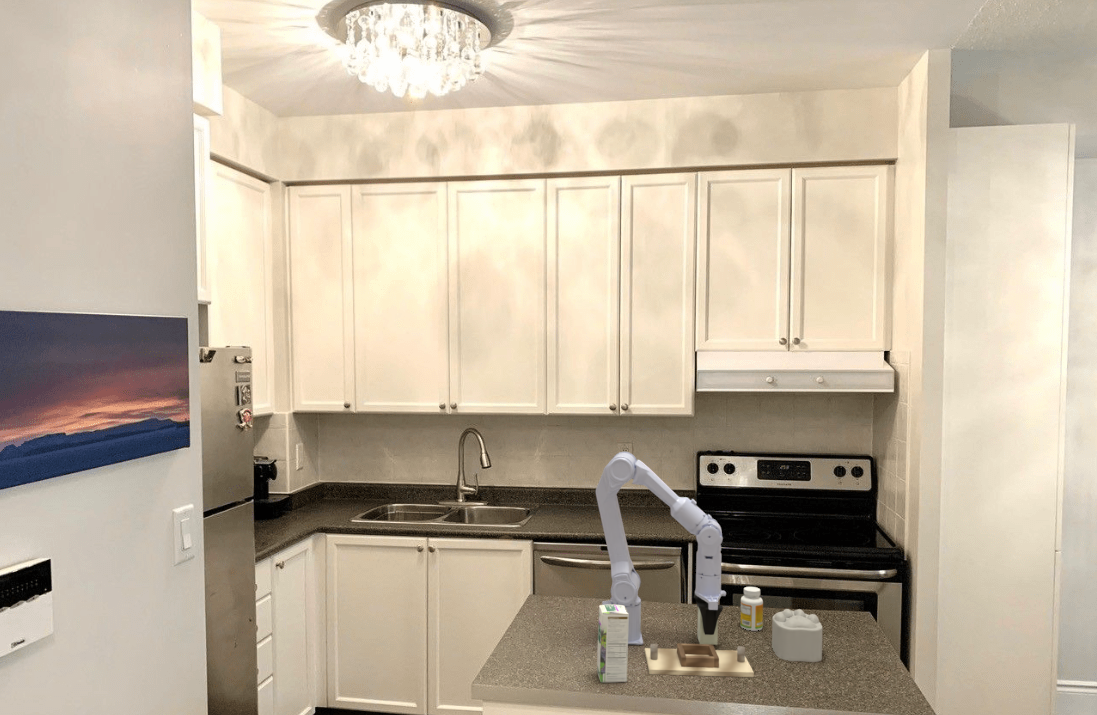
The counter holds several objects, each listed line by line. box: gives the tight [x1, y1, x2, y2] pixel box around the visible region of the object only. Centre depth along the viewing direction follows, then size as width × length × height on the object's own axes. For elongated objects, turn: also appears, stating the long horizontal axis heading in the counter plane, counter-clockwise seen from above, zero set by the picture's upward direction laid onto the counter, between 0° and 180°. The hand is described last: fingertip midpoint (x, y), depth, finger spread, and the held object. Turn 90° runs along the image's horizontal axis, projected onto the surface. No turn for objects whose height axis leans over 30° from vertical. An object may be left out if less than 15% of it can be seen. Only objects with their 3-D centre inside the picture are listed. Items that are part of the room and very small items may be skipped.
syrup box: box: [596, 604, 629, 684], centre depth 165 cm, size 6×6×14 cm
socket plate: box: [644, 643, 755, 678], centre depth 173 cm, size 22×12×4 cm, turn 88°
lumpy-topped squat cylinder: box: [771, 608, 823, 663], centre depth 182 cm, size 10×13×9 cm
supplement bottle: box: [740, 586, 764, 632], centre depth 196 cm, size 5×5×10 cm
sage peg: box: [696, 606, 719, 646], centre depth 183 cm, size 4×4×8 cm
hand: (707, 630), depth 183 cm, fingers closed on sage peg, 4 cm apart
